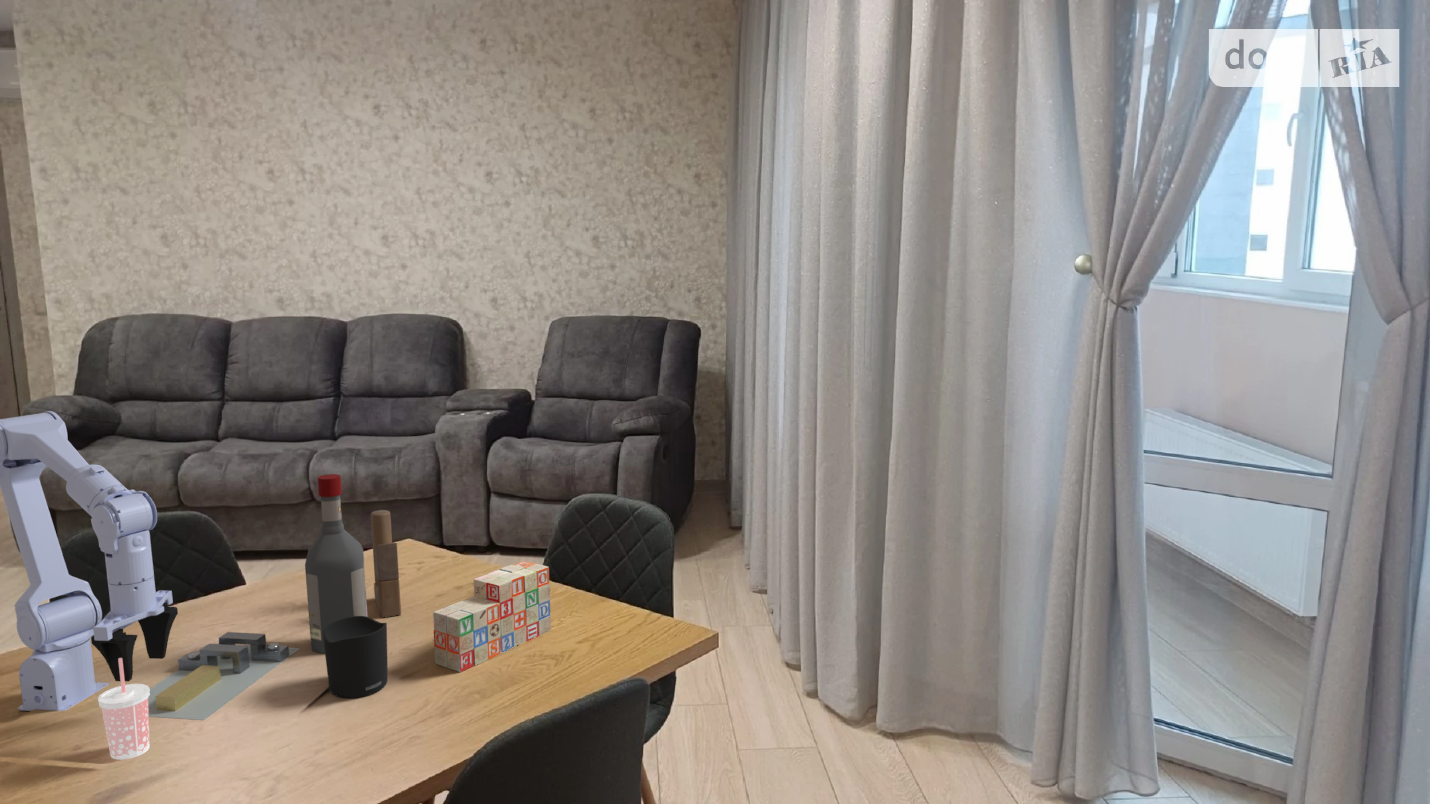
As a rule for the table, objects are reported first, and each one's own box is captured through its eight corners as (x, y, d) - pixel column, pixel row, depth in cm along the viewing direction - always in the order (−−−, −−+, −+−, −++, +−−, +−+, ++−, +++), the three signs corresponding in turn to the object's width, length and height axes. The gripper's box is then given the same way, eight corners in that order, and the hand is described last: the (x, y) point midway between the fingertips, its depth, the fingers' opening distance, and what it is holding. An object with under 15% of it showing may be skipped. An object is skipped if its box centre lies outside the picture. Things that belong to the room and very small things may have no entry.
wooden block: (381, 618, 188) (375, 525, 185) (374, 600, 197) (368, 510, 194) (401, 615, 189) (396, 522, 186) (394, 597, 199) (388, 508, 196)
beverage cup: (144, 739, 143) (135, 645, 141) (163, 753, 139) (153, 657, 137) (97, 756, 138) (86, 659, 136) (115, 771, 135) (104, 672, 132)
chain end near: (240, 673, 163) (238, 652, 162) (178, 670, 164) (176, 648, 164) (249, 667, 165) (247, 645, 165) (188, 663, 167) (186, 642, 166)
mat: (204, 723, 147) (204, 719, 147) (111, 717, 150) (110, 713, 149) (300, 651, 173) (300, 648, 173) (219, 647, 175) (219, 643, 175)
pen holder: (324, 703, 154) (319, 641, 152) (330, 678, 163) (325, 618, 161) (389, 696, 156) (385, 634, 154) (391, 671, 165) (387, 612, 163)
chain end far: (280, 662, 167) (279, 641, 167) (220, 658, 169) (218, 637, 168) (289, 656, 170) (287, 635, 169) (229, 652, 171) (227, 631, 170)
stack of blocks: (460, 674, 164) (457, 601, 162) (434, 665, 168) (430, 594, 166) (551, 631, 182) (549, 565, 180) (526, 623, 185) (524, 559, 183)
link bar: (175, 711, 150) (173, 697, 150) (156, 709, 151) (155, 696, 150) (220, 679, 161) (219, 666, 161) (203, 678, 161) (202, 665, 161)
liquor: (369, 632, 181) (358, 468, 176) (368, 651, 173) (357, 480, 168) (314, 638, 178) (302, 472, 174) (310, 658, 170) (297, 485, 165)
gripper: (124, 597, 136) (134, 691, 139) (188, 562, 151) (196, 649, 153) (74, 596, 137) (85, 690, 139) (143, 561, 151) (152, 647, 153)
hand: (140, 668), depth 146 cm, fingers open, 7 cm apart
